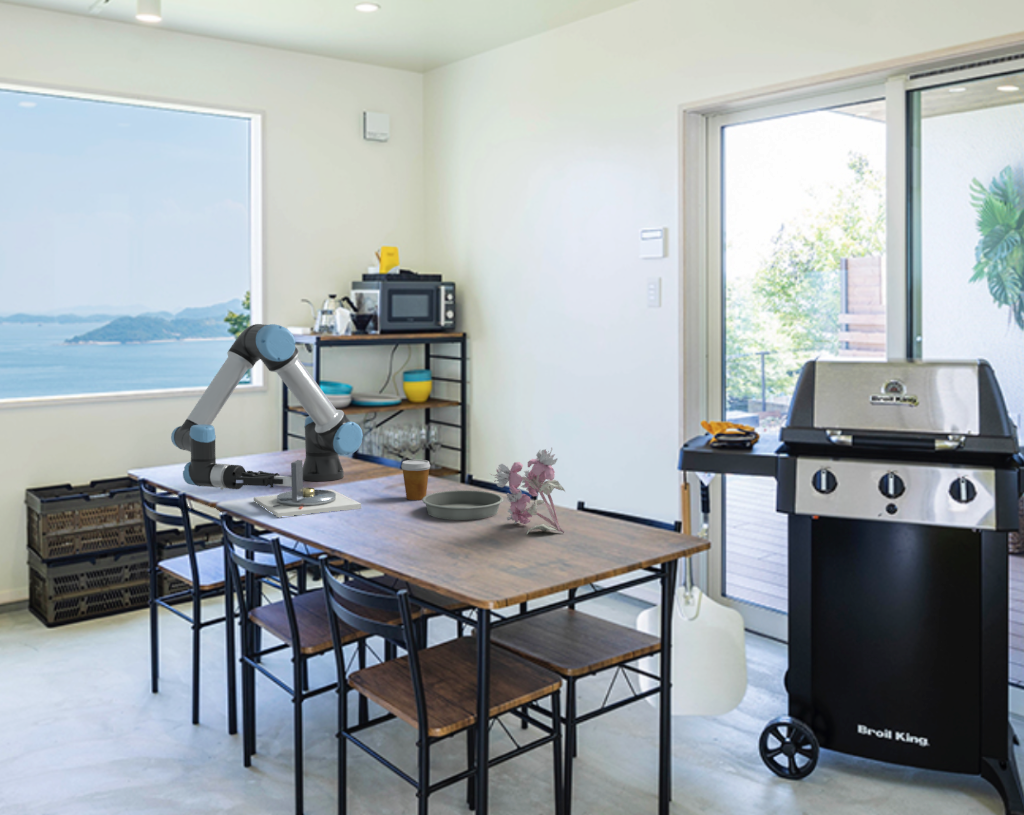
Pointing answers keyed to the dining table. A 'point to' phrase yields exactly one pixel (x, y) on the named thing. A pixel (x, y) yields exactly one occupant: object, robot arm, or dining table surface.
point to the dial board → (289, 510)
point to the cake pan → (462, 504)
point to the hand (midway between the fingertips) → (293, 481)
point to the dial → (303, 491)
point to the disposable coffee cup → (415, 478)
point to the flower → (531, 489)
